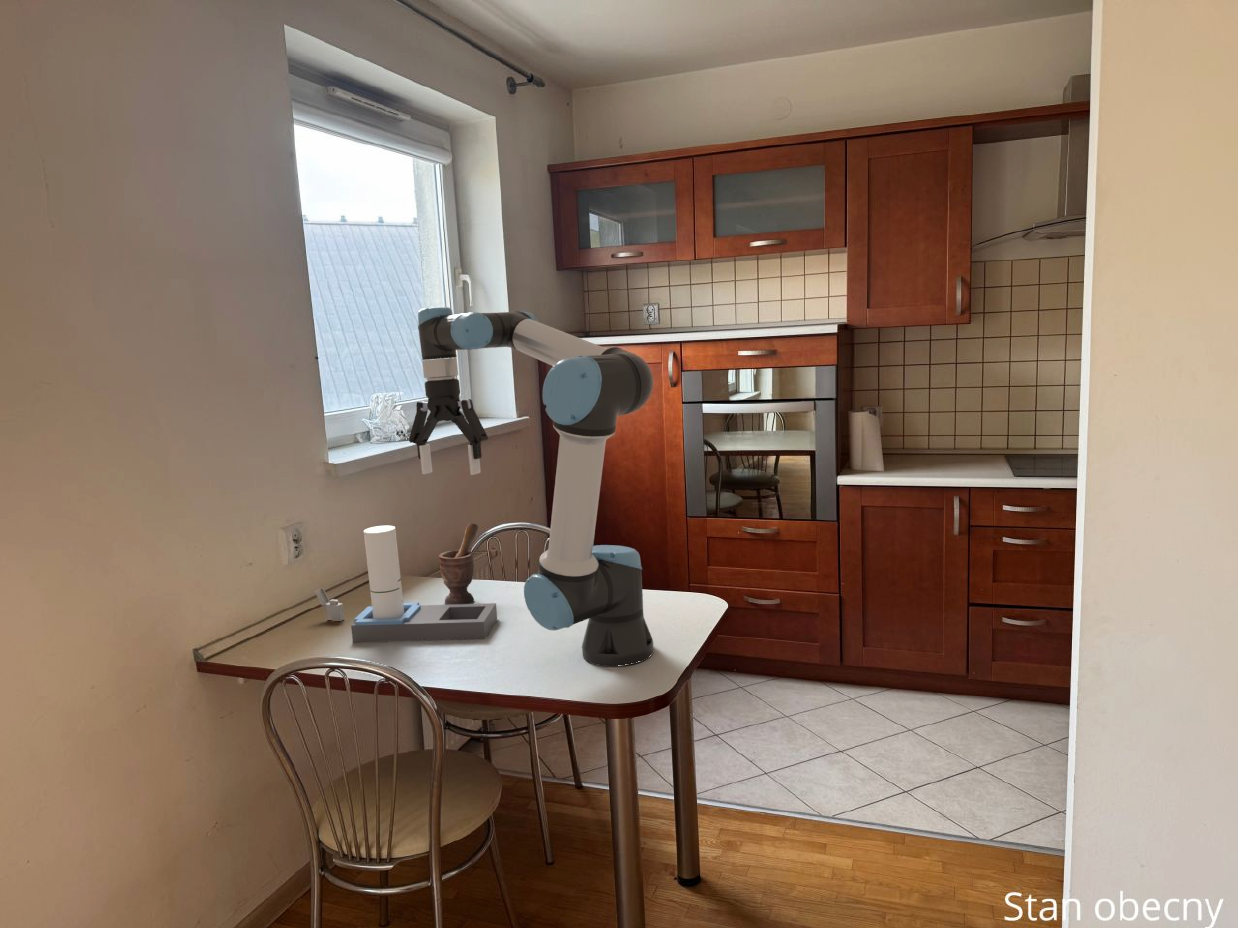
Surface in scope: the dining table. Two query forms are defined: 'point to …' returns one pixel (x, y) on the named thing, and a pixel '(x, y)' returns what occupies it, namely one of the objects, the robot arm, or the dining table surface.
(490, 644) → the dining table surface
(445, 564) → the mortar and pestle
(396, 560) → the cylindrical container
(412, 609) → the socket rack
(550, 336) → the robot arm
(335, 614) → the lighter
